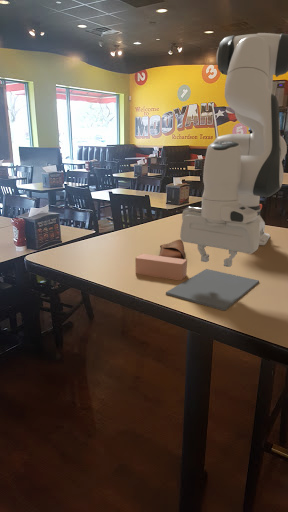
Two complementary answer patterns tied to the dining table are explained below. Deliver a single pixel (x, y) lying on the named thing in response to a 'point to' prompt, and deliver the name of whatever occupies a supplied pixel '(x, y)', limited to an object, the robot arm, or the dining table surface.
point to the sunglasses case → (173, 250)
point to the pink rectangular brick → (161, 266)
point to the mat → (213, 289)
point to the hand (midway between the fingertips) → (216, 263)
